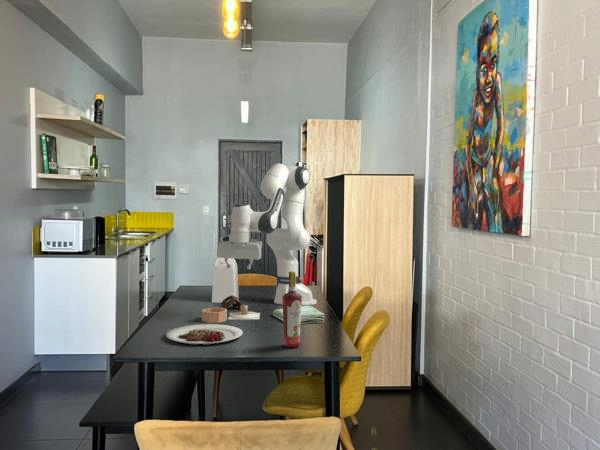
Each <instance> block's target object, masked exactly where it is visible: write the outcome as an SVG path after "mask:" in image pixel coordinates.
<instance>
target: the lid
mask: <svg viewBox="0 0 600 450" xmlns="http://www.w3.org/2000/svg"><path fill="white" fill-rule="evenodd" d="M248 308H249V306H248V304H241V310H240V311H235V312H230V313H231V314H230V313H229V315H230V317H232V318H236V319H235V320H252V319H251V318H256V317H258V316H259V314H258V313H259V312H255V311H249V309H248Z"/></svg>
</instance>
